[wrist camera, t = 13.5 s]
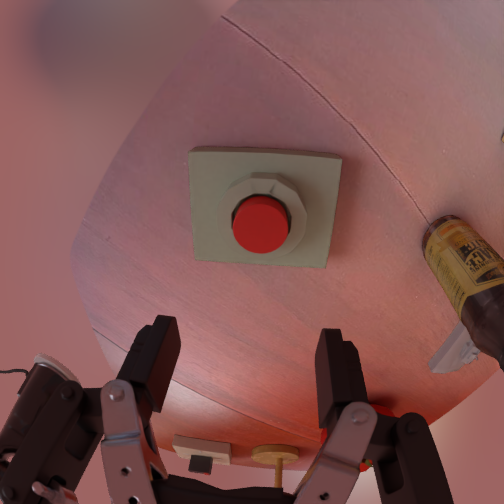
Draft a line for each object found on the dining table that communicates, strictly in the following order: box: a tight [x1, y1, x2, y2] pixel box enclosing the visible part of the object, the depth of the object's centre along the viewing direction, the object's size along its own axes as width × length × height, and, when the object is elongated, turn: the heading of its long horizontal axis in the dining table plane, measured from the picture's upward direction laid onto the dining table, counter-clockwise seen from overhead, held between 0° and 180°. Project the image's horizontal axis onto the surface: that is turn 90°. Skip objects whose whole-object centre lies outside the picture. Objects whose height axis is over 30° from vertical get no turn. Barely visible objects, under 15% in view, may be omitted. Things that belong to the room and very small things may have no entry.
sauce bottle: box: [422, 215, 504, 371], centre depth 17 cm, size 6×6×20 cm
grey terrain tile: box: [428, 320, 481, 374], centre depth 32 cm, size 12×11×4 cm
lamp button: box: [233, 196, 288, 254], centre depth 21 cm, size 4×4×2 cm
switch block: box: [188, 147, 342, 268], centre depth 24 cm, size 12×10×4 cm
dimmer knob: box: [188, 455, 213, 475], centre depth 52 cm, size 5×2×5 cm, turn 100°
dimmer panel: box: [172, 435, 232, 465], centre depth 55 cm, size 13×10×3 cm
